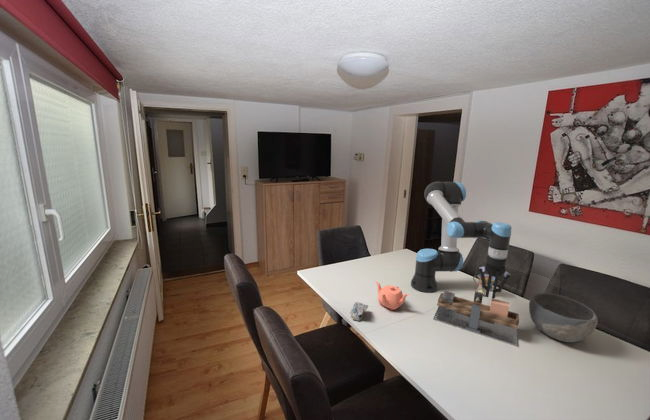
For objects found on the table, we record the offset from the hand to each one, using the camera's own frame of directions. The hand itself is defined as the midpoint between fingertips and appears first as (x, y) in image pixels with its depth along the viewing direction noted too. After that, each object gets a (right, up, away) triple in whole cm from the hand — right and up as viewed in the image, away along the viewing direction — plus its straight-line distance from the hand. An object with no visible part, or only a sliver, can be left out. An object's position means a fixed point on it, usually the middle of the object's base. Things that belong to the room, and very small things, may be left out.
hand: (489, 303), depth 135 cm
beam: (-4, -7, +4) cm, 10 cm away
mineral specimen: (-60, -9, +8) cm, 61 cm away
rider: (+3, -5, -1) cm, 7 cm away
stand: (-4, -11, +5) cm, 13 cm away
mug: (+16, -5, +35) cm, 39 cm away
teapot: (-44, -7, +17) cm, 47 cm away
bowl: (+30, -14, -2) cm, 33 cm away
